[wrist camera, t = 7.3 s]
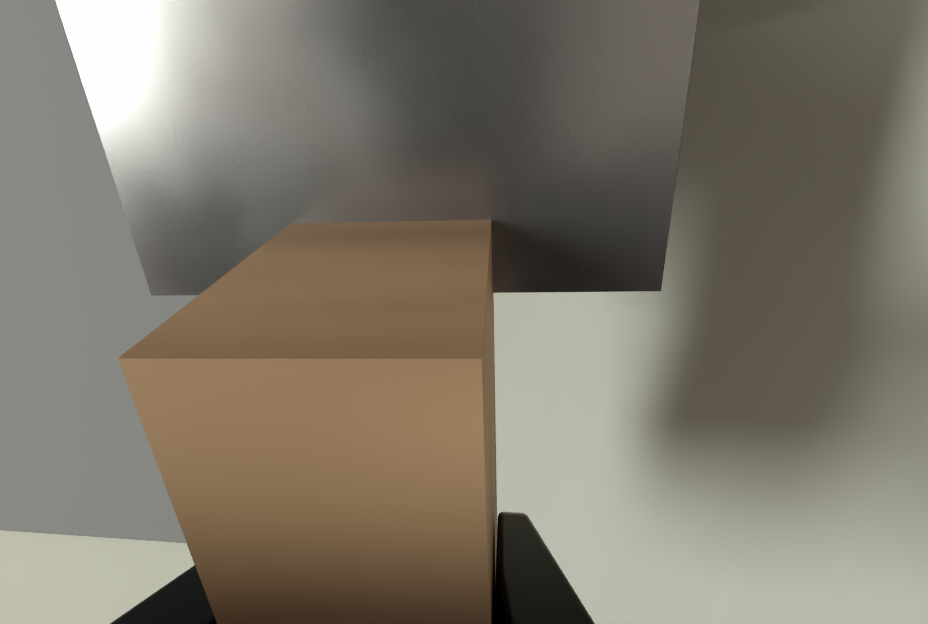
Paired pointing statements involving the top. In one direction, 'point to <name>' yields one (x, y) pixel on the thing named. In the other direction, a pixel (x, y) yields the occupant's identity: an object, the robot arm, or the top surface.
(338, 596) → the turner
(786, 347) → the top surface
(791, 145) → the top surface
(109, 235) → the mat
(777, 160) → the top surface
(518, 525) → the robot arm
